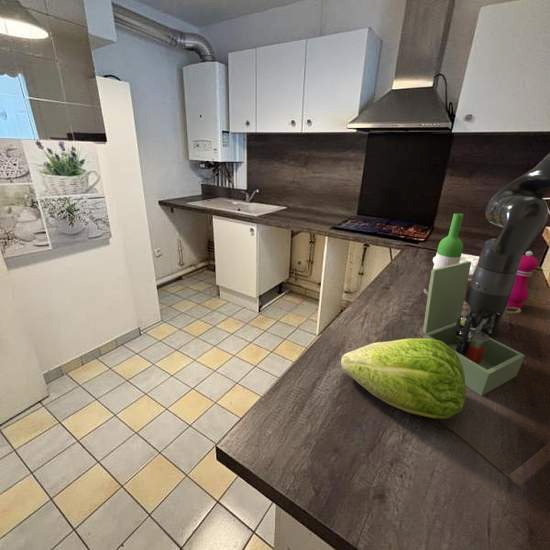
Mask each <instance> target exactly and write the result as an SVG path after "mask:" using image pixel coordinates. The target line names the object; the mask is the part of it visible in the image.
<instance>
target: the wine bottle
mask: <svg viewBox="0 0 550 550" xmlns="http://www.w3.org/2000/svg"><path fill="white" fill-rule="evenodd" d="M463 218H464V214H463V213H458V212H456V213H453V216H452V220H451V224H450V227H449V231H448V234H447V236H445V237H443V238H442V239H441V240H440V242H439V243H438V246H437V251H436V255H435V256H436V258H435V262H434V263H433V267H432V269H437V268H441V267H445V266H449V265H453V264H457V263H459V262H460V258H461V254H463V250H464V243H463V241H462V240H461V239H460V237H459V235H460V230H461V227H462V223H463ZM429 285H430V283H429ZM429 285H428V286H429Z"/></svg>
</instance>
